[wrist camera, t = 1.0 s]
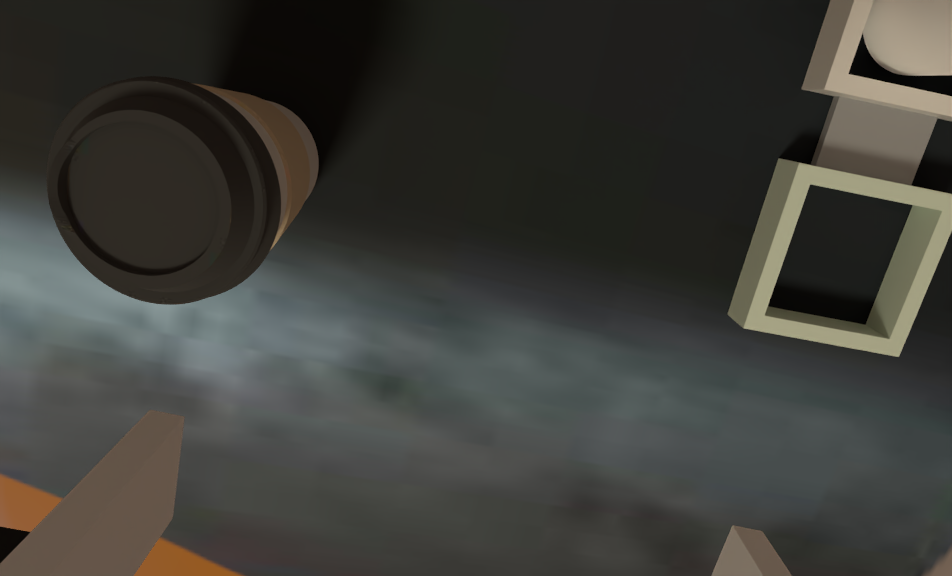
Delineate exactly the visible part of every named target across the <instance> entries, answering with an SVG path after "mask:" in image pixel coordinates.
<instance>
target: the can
mask: <svg viewBox="0 0 952 576" xmlns="http://www.w3.org/2000/svg"><path fill="white" fill-rule="evenodd" d="M863 36H864V41H865V44H866V47H867V49H868V51H869V53H870V55H871V56H872V57H873V59H874V60H875V61H876V62H877V63H878V64H879V65H880V66H881V67H883V68H884V69H886V70H888V71H890V72H892V73H895V74H900V75H907V76H936V75H952V0H874V1H873V4H872V7H871V10H870V13H869V16H868V19H867V21H866V24H865V27H864V30H863Z"/></svg>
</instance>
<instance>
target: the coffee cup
mask: <svg viewBox="0 0 952 576" xmlns="http://www.w3.org/2000/svg"><path fill="white" fill-rule="evenodd" d="M318 169H319V159H318V152H317V148H316V144H315V142H314V139H313V137H312V135H311V133H310V131H309V129H308V128H307V127H306V125H305V124H304V123H303V121H302V120H301V119H300V118H299V117H298V116H297V115H295V114H294V113H293V112H292V111H290V110H289V109H287V108H285V107H284V106H282V105H280V104H277V103H274V102H271V101H266V100H263V99H261V98H258V97H256V96H253V95H250V94H246V93H241V92H236V91H230V90H225V89H220V88H215V87H210V86H205V85H200V84H193V83H189V82H186V81H182V80H178V79H173V78H167V77H152V76H151V77H137V78H131V79H126V80H122V81H118V82H114V83H111V84H108V85H105V86H103V87H101V88H99V89H97V90H95V91H93V92H92V93H90V94H89V95H87V96H86V97H84V98H83V99H82V100H81V101H79V102H78V103H77V104H76V105H75V106H74V107H73V108H72V109H71V110H70V112H69V113H68V114H67V115H66V117H65V118H64V120H63V121H62V123H61V124H60V126H59V128H58V130H57V132H56V134H55V136H54V139H53V142H52V145H51V148H50V152H49V157H48V163H47V192H48V198H49V204H50V208H51V211H52V214H53V217H54V220H55V223H56V225H57V227H58V230H59V232H60V234H61V236H62V237H63V239H64V241H65V243H66V244H67V246H68V247H69V249H70V250H71V252H72V253H73V254H74V256H75V257H76V258H77V259H78V260H79V262H80V263H81V264H82V265H83V266H84V267H85V268H86V269H87V270H88V271H89V272H90V273H92V274H93V275H94V276H95V277H96V278H98V279H99V280H100V281H102V282H103V283H104V284H106V285H108V286H109V287H111V288H112V289H114V290H116V291H118V292H120V293H122V294H124V295H127V296H129V297H132V298H135V299H138V300H141V301H145V302H150V303H156V304H185V303H191V302H195V301H199V300H202V299H205V298H208V297H212V296H215V295H218V294H221V293H223V292H226V291H228V290H230V289H232V288H233V287H235V286H237V285H238V284H240V283H241V282H243V281H244V280H245V279H247V278H248V277H249V276H250V275H251V274H252V273H253V272H254V271H255V270H256V269H257V268H258V267H259V266H260V265H261V263H262V262H263V261H264V259H265V258H266V256H267V254H268V253H269V251H270V250H271V249H272V247H273V246H274V245H275V244H276V242H277V241H278V240H279V238H280V237H281V236H282V234H283V233H284V231H285V230H286V229H287V227H288V226H289V225H290V223H291V222H292V221H293V219H294V218H295V217H296V215H297V214H298V212H299V211H300V209H301V208H302V206H303V204H304V202H305V200H306V199H307V198H308V197H309V195H310V194H311V192H312V190H313V188H314V186H315V183H316V180H317V176H318Z"/></svg>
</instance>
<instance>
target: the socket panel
mask: <svg viewBox="0 0 952 576" xmlns="http://www.w3.org/2000/svg"><path fill="white" fill-rule="evenodd" d="M873 1H874V0H830V4H829V7H828V10H827V13H826V16H825V19H824V22H823V25H822V28H821V31H820V34H819V37H818V40H817V43H816V46H815V49H814V52H813V55H812V58H811V61H810V64H809V67H808V70H807V73H806V77H805V80H804V83H803V86H802V89H803V90H808V91H812V92H817V93H822V94H826V95H831V96H834V98H833V101H832V104H831V106H830V109H829V112H828V115H827V118H826V121H825V124H824V127H823V130H822V133H821V136H820V138H819V141H818V144H817V147H816V150H815V153H814V156H813V159H812V162H811V165H809V164H804V163H799V162H794V161H789V160H785V159H780V158H779V159H778V162H777V165H776V168H775V171H774V174H773V177H772V180H771V183H770V186H769V189H768V192H767V195H766V198H765V201H764V204H763V207H762V210H761V213H760V216H759V219H758V223H757V226H756V229H755V232H754V235H753V238H752V241H751V244H750V247H749V250H748V253H747V256H746V259H745V262H744V265H743V268H742V271H741V274H740V277H739V280H738V283H737V286H736V289H735V293H734V296H733V299H732V302H731V305H730V308H729V311H728V315H729V316H730V317H731V318H732V319H733V320H735V321H736V322H737V323H738V324H739V325H740V326H741V327H743V328H745V329H751V330H756V331H761V332H767V333H772V334H778V335H783V336H788V337H794V338H799V339H805V340H810V341H815V342H821V343H826V344H832V345H837V346H842V347H848V348H853V349H859V350H864V351H870V352H875V353H880V354H886V355H891V356H897V357H899V355H900V353H901V350H902V348H903V346H904V343H905V341H906V338H907V336H908V334H909V331H910V329H911V327H912V324H913V322H914V319H915V317H916V315H917V312H918V310H919V307H920V305H921V303H922V300H923V298H924V296H925V293H926V291H927V288H928V286H929V284H930V281H931V279H932V276H933V274H934V272H935V269H936V267H937V265H938V262H939V260H940V257H941V255H942V253H943V250H944V248H945V245H946V243H947V241H948V238H949V236H950V234H951V231H952V194H949V193H945V192H940V191H936V190H931V189H926V188H921V187H916V186H911V184H912V182H913V179H914V177H915V174H916V171H917V169H918V166H919V164H920V161H921V159H922V156H923V154H924V151H925V149H926V146H927V143H928V141H929V138H930V136H931V133H932V131H933V128H934V126H935V123H936V121H937V118H939V119H943V120H948V121H952V96H948V95H943V94H939V93H934V92H929V91H925V90H920V89H915V88H911V87H906V86H902V85H897V84H892V83H888V82H883V81H879V80H874V79H869V78H865V77H860V76H855V75H851V74H848V73H849V70H850V68H851V65H852V62H853V59H854V56H855V53H856V50H857V47H858V44H859V42H860V39H861V36H862V33H863V30H864V27H865V24H866V21H867V19H868V16H869V13H870V10H871V7H872V4H873ZM810 184H812V185H817V186H822V187H827V188H832V189H837V190H842V191H847V192H852V193H856V194H861V195H866V196H871V197H876V198H881V199H886V200H891V201H896V202H901V203H906V204H911V205H913V206H912V209H911V211H910V214H909V216H908V219H907V221H906V224H905V226H904V229H903V231H902V234H901V236H900V239H899V241H898V244H897V246H896V249H895V251H894V254H893V256H892V259H891V261H890V264H889V267H888V269H887V272H886V274H885V277H884V279H883V282H882V284H881V287H880V289H879V292H878V294H877V297H876V299H875V302H874V304H873V307H872V309H871V312H870V314H869V317H868V319H867V322H866V325H864V324H859V323H854V322H848V321H843V320H838V319H832V318H827V317H822V316H816V315H811V314H806V313H801V312H795V311H790V310H785V309H779V308H774V307H769V306H768V304H769V301H770V298H771V295H772V293H773V290H774V287H775V284H776V281H777V278H778V275H779V272H780V269H781V267H782V264H783V261H784V258H785V255H786V252H787V249H788V246H789V243H790V241H791V238H792V235H793V232H794V229H795V226H796V223H797V220H798V218H799V215H800V212H801V209H802V206H803V203H804V200H805V197H806V194H807V192H808V189H809V186H810Z"/></svg>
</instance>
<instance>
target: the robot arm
mask: <svg viewBox="0 0 952 576" xmlns="http://www.w3.org/2000/svg"><path fill="white" fill-rule="evenodd" d="M183 426H184V416H179V415H174V414H169V413H164V412H158V411H153V410H149V411H148V412H147V413H146V415H145V416H144V417H143V418H142V419H141V420H140V421H139V422H138V423H137V424H136V425H135V426H134V427H133V428H132V429H131V430H130V431H129V432H128V433H127V434H126V435H125V436H124V437H123V438H122V439H121V440H120V441H119V442H118V443H117V444H116V445H115V446H114V447H113V448H112V449H111V450H110V451H109V452H108V453H107V455H106V456H105V457H104V458H103V459H102V460H101V461H100V462H99V463H98V464H97V465H96V466H95V467H94V468H93V469H92V470H91V471H90V472H89V473H88V474H87V475H86V476H85V477H84V478H83V479H82V480H81V481H80V482H79V483H78V484H77V485H76V486H75V487H74V488H73V489H72V490H71V491H70V492H69V493H68V495H67V496H66V497H65V498H64V499H63V500H62V501H61V502H60V503H59V504H58V505H57V506H56V507H55V508H54V509H53V510H52V511H51V512H50V513H49V514H48V515H47V516H46V517H45V518H44V519H43V520H42V521H41V522H40V523H39V524H38V525H37V526H36V528H34V529H33V530H32V531H31V532H27V531H21V530H16V529H10V528H5V527H0V576H133V575H134V574H135V573H136V571H137V570H138V568H139V567H140V565H141V564H142V562H143V561H144V560H145V558H146V557H147V555H148V554H149V552H150V551H151V549H152V548H153V546H154V545H155V543H156V542H157V540H158V539H159V537H160V536H161V534H162V533H163V532H164V530H165V529H166V527H167V526H168V524H169V523H170V521H171V520H172V518H173V511H174V502H175V494H176V485H177V477H178V468H179V460H180V451H181V443H182V434H183ZM712 576H792V575H791V574H790V572H789V571H788V569H787V568H786V566H785V565H784V563H783V562H782V560H781V559H780V557H779V556H778V554H777V553H776V551H775V550H774V548H773V547H772V545H771V544H770V542H769V541H768V539H767V538H766V536H765V535H764V533H763V532H762V531H759V530H753V529H748V528H743V527H738V526H733V525H732V528H731V530H730V533H729V535H728V537H727V540H726V542H725V545H724V547H723V549H722V552H721V554H720V557H719V559H718V561H717V564H716V566H715V569H714V571H713V573H712Z"/></svg>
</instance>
